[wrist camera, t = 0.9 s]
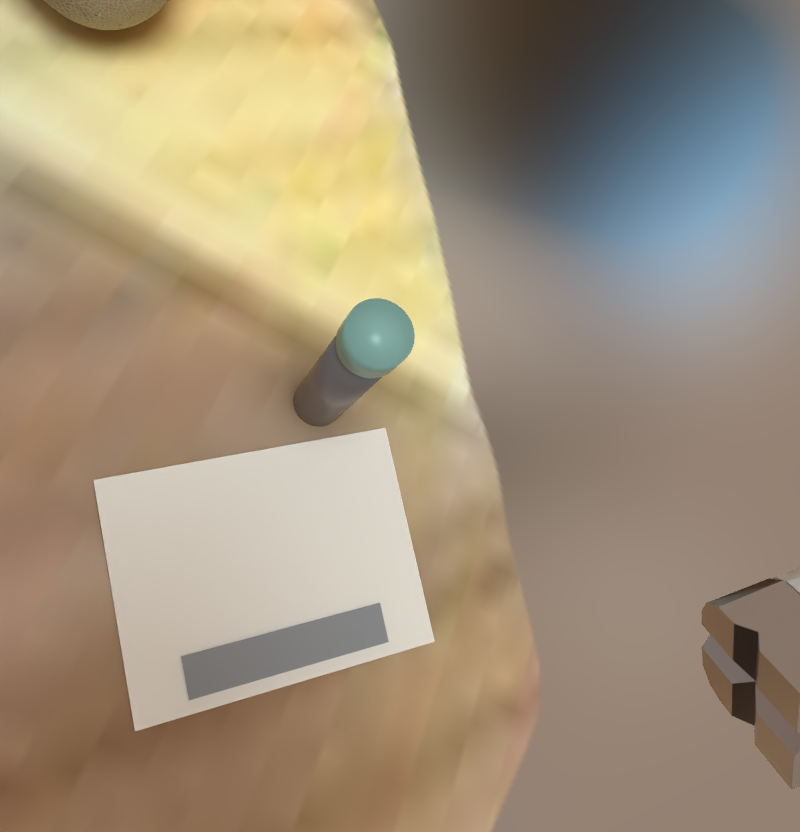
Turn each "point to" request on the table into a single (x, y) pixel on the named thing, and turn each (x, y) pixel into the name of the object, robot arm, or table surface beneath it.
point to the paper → (258, 572)
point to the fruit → (107, 12)
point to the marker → (355, 360)
